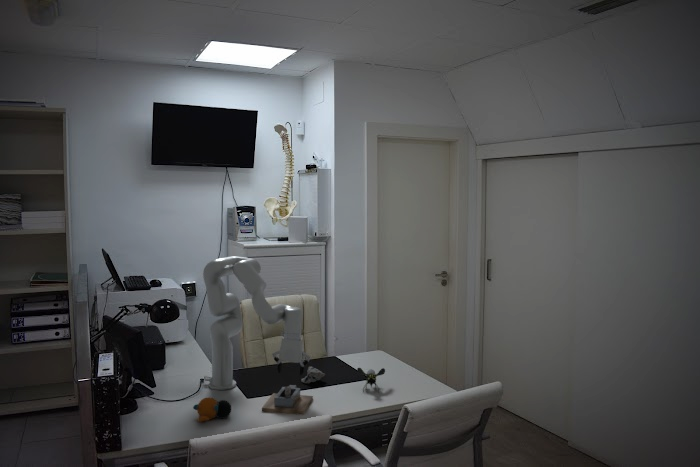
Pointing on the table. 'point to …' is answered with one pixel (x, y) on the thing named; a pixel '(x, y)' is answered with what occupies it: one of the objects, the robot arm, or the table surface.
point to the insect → (371, 376)
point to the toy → (212, 409)
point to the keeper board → (298, 408)
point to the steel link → (287, 398)
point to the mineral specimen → (312, 375)
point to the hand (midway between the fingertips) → (290, 373)
